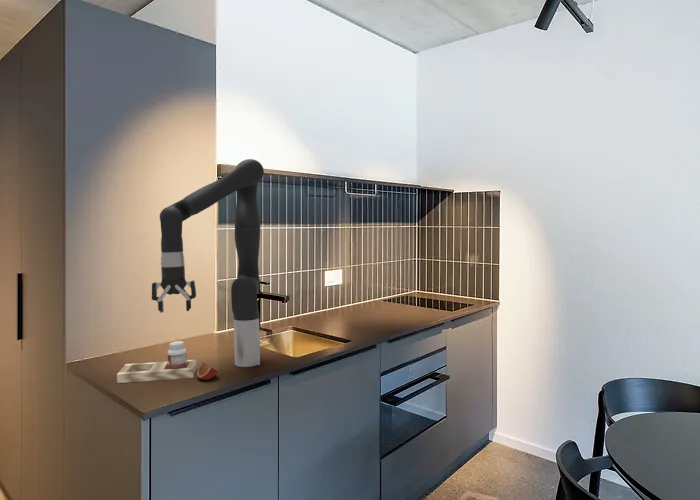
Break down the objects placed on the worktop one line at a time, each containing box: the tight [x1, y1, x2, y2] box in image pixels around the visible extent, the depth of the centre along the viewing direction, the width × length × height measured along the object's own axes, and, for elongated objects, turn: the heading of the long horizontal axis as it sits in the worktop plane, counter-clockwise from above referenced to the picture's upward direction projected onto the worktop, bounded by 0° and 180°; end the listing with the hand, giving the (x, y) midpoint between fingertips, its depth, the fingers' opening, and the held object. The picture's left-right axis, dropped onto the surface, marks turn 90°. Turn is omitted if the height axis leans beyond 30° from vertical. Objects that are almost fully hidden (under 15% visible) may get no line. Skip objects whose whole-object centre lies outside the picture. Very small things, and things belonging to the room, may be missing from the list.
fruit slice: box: [196, 361, 219, 381], centre depth 159 cm, size 8×7×5 cm
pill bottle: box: [167, 340, 188, 369], centre depth 163 cm, size 6×6×11 cm
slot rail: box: [116, 359, 198, 384], centre depth 162 cm, size 24×11×3 cm, turn 102°
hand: (174, 311), depth 162 cm, fingers open, 8 cm apart
